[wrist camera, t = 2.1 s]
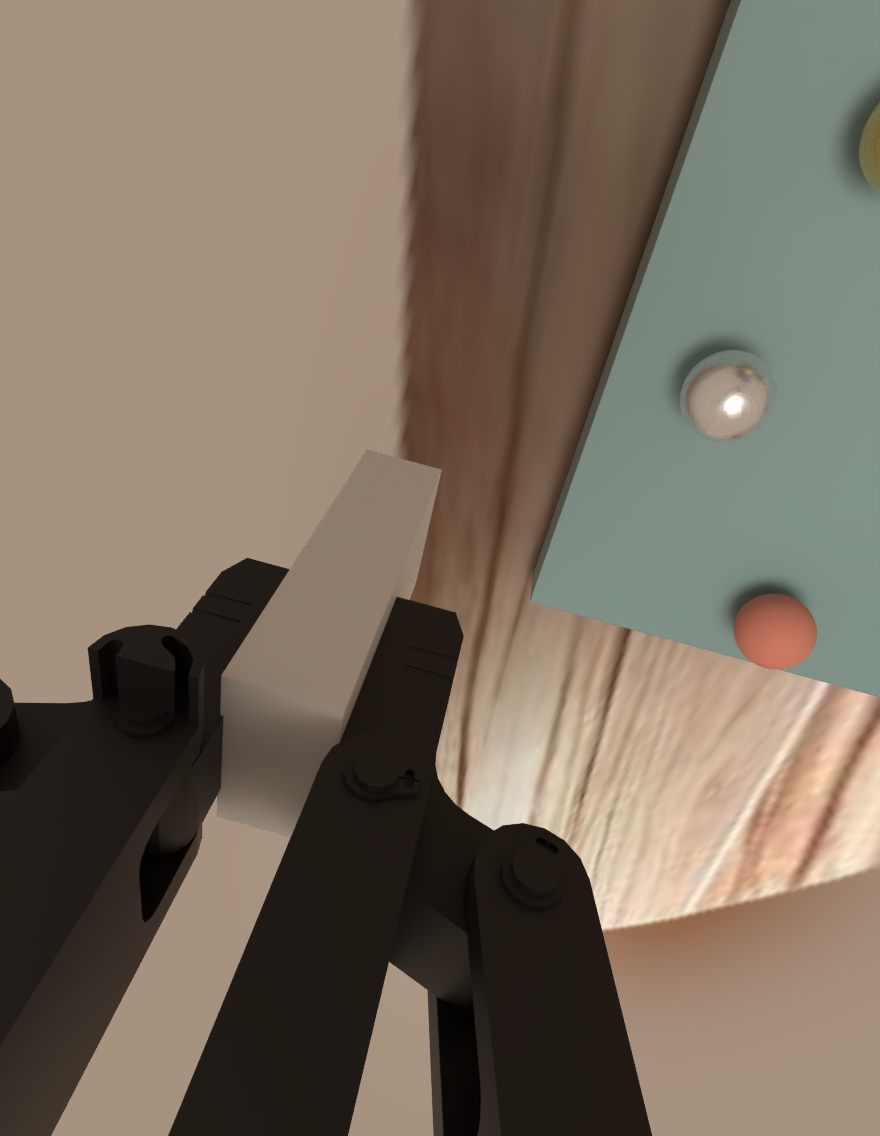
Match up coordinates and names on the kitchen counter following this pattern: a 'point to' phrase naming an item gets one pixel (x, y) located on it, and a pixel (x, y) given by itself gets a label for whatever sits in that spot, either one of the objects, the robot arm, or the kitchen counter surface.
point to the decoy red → (775, 631)
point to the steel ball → (728, 396)
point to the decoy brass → (871, 149)
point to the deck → (761, 327)
